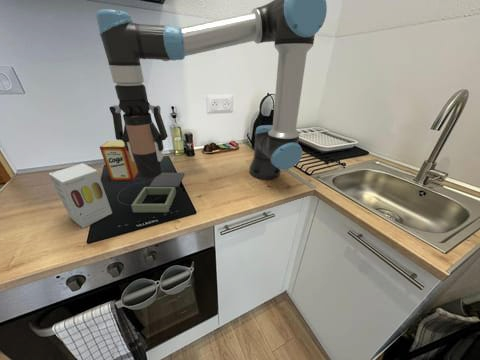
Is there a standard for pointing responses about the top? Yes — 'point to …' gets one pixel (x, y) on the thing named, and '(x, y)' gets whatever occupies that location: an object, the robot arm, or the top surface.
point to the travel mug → (143, 145)
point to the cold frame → (140, 207)
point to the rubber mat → (167, 180)
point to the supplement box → (81, 194)
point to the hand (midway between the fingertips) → (147, 159)
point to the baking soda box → (118, 161)
